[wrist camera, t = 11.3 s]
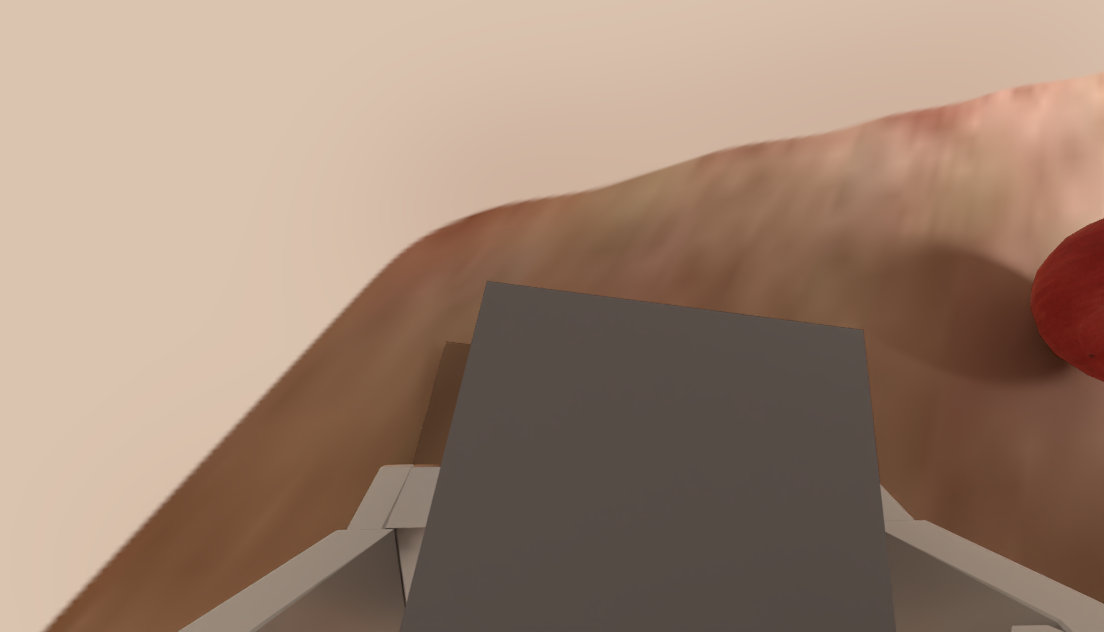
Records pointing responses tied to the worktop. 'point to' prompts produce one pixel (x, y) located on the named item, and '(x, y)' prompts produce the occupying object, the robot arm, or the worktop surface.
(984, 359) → the worktop surface
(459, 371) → the socket board
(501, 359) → the plug
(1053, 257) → the onion
